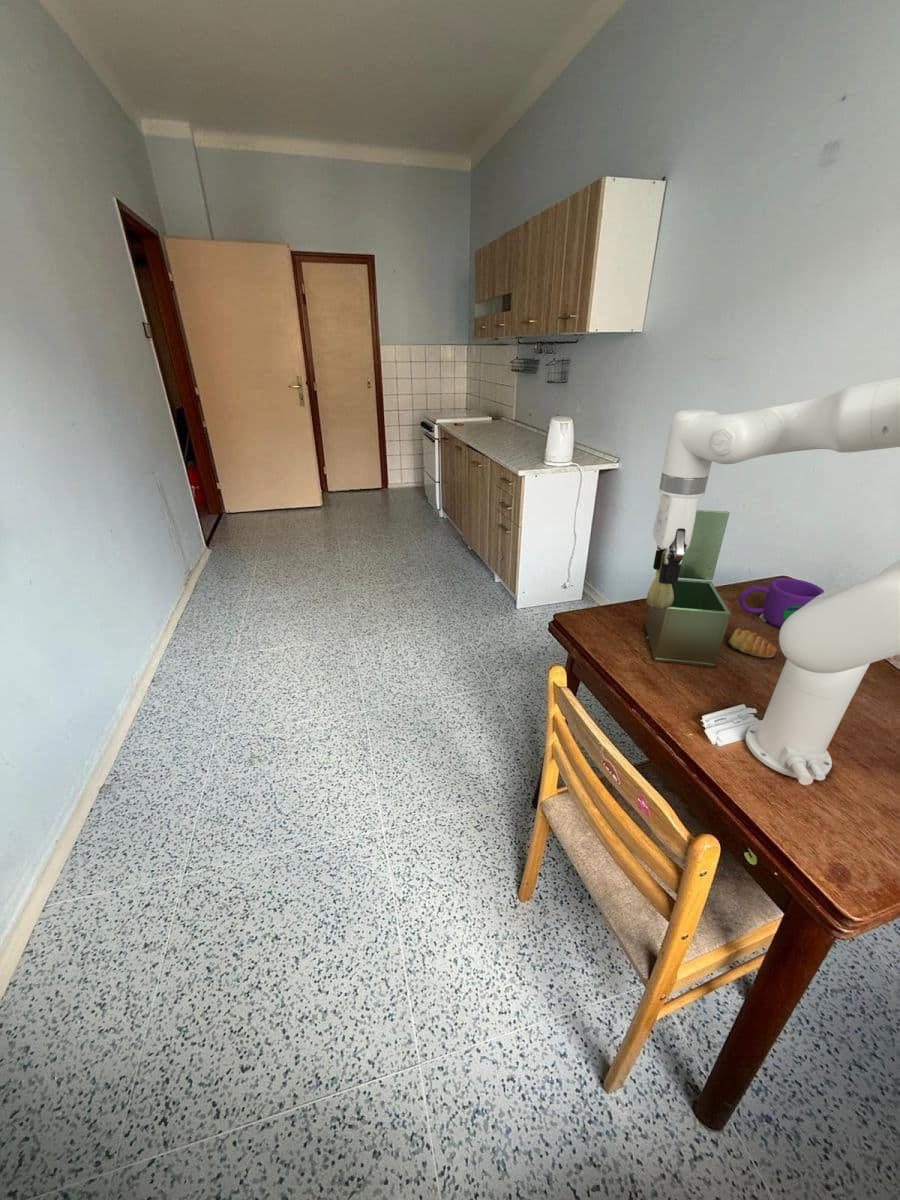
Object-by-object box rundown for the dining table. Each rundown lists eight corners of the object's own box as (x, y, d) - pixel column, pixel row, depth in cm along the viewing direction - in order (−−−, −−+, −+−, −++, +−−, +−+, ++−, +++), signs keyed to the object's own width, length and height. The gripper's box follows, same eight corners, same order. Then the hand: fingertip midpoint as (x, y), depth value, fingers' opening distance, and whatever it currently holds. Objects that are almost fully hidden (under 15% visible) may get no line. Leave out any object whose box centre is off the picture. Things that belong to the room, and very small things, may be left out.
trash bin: (714, 667, 105) (730, 613, 98) (654, 660, 107) (666, 608, 101) (698, 630, 118) (711, 581, 112) (645, 625, 121) (655, 577, 114)
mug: (804, 614, 124) (817, 580, 120) (818, 636, 115) (833, 600, 110) (730, 605, 129) (740, 572, 125) (737, 625, 120) (748, 590, 115)
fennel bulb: (653, 597, 99) (664, 544, 93) (677, 605, 96) (689, 550, 90) (640, 607, 95) (649, 552, 90) (663, 616, 92) (675, 559, 87)
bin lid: (729, 512, 104) (728, 511, 105) (669, 509, 107) (668, 508, 107) (712, 580, 111) (711, 579, 112) (655, 576, 114) (655, 575, 114)
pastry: (777, 651, 110) (783, 637, 108) (769, 663, 106) (774, 649, 104) (734, 636, 116) (738, 623, 114) (724, 647, 112) (728, 634, 110)
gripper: (652, 473, 92) (638, 558, 101) (669, 496, 77) (651, 594, 86) (694, 473, 91) (675, 560, 99) (719, 497, 76) (695, 597, 84)
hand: (664, 575), depth 92 cm, fingers closed on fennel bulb, 5 cm apart
